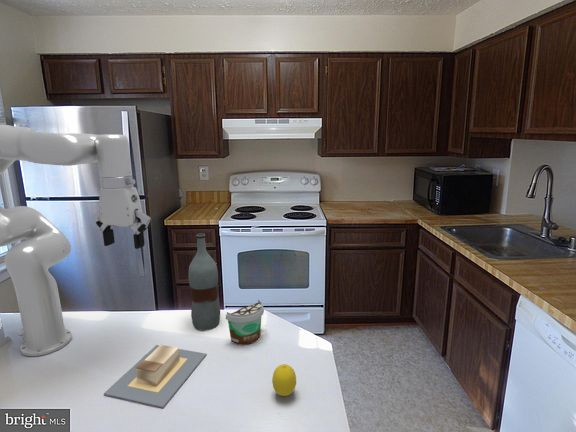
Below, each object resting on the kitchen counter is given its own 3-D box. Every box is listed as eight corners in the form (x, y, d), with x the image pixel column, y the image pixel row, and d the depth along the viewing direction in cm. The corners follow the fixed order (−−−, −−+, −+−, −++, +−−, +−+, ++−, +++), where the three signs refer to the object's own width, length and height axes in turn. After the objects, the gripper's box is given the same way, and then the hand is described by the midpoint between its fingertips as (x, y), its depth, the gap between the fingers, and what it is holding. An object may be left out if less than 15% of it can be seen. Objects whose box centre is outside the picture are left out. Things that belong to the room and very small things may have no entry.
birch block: (180, 361, 93) (178, 347, 92) (156, 386, 84) (155, 371, 83) (162, 357, 95) (160, 344, 94) (137, 382, 85) (135, 367, 84)
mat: (103, 395, 82) (103, 393, 82) (156, 346, 101) (156, 344, 100) (163, 408, 78) (163, 406, 78) (206, 355, 96) (206, 353, 96)
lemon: (277, 406, 78) (277, 375, 76) (269, 390, 83) (268, 361, 81) (300, 399, 80) (300, 369, 78) (290, 384, 85) (290, 355, 83)
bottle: (213, 333, 107) (207, 239, 100) (186, 329, 109) (179, 238, 102) (225, 317, 116) (220, 231, 109) (200, 314, 118) (194, 229, 111)
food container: (238, 353, 97) (237, 320, 95) (226, 343, 102) (225, 312, 100) (272, 336, 105) (272, 306, 103) (260, 328, 110) (259, 299, 107)
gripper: (154, 182, 92) (160, 244, 96) (100, 180, 96) (108, 239, 100) (135, 186, 85) (142, 253, 89) (78, 184, 89) (87, 247, 93)
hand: (124, 245), depth 94 cm, fingers open, 9 cm apart
